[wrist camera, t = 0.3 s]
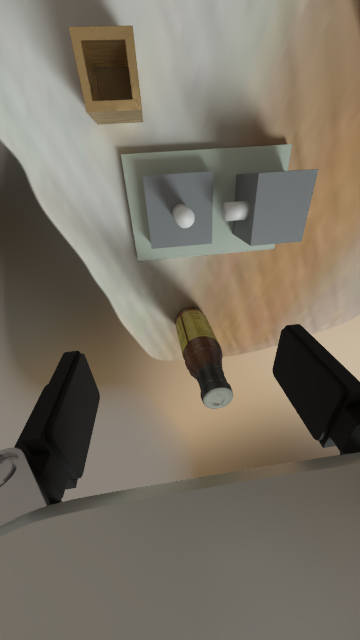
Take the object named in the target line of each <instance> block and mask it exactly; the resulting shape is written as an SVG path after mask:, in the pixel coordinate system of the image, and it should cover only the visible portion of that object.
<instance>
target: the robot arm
mask: <svg viewBox="0 0 360 640" xmlns="http://www.w3.org/2000/svg"><path fill="white" fill-rule="evenodd" d="M273 374H274V377H275V378H276V380H277V381H278V383H279V384H280V386H281V388H282V389H283V391H284V392H285V394H286V396H287V397H288V398H289V400H290V402H291V403H292V405H293V407H294V408H295V409H296V411H297V413H298V414H299V416H300V418H301V419H302V420H303V422H304V424H305V425H306V427H307V429H308V430H309V432H310V433H311V435H312V436H313V438H314V439H315V440H319V442H320V444H321V445H322V447H323V448H326V447H332V446H337V447H338V449H339V450H340V455H338V456H330V457H323V458H317V459H310V460H304V461H297V462H291V463H285V464H278V465H272V466H266V467H260V468H254V469H247V470H241V471H235V472H229V473H223V474H217V475H211V476H205V477H198V478H193V479H186V480H181V481H174V482H169V483H163V484H157V485H151V486H145V487H139V488H134V489H127V490H122V491H116V492H110V493H105V494H100V495H94V496H89V497H84V498H78V499H73V500H70V501H65V502H62V500H61V498H62V497H63V495H64V491H65V489H71V488H76V484H77V480H78V478H81V477H82V475H83V471H84V467H85V462H86V457H87V453H88V449H89V444H90V439H91V435H92V431H93V426H94V422H95V418H96V413H97V408H98V404H99V399H100V395H99V391H98V388H97V386H96V383H95V381H94V378H93V375H92V373H91V370H90V368H89V365H88V363H87V360H86V358H85V355H84V354H81V353H80V352H79V351H72V352H65V353H64V354H63V356H62V358H61V360H60V362H59V364H58V366H57V368H56V370H55V372H54V374H53V376H52V378H51V380H50V382H49V384H48V385H46V386H45V388H44V389H43V391H42V393H41V395H40V397H39V399H38V401H37V403H36V405H35V407H34V409H33V411H32V413H31V415H30V417H29V419H28V421H27V423H26V425H25V427H24V429H23V431H22V433H21V435H20V437H19V439H18V441H17V443H16V445H15V447H14V448H7V449H4V450H1V451H0V640H360V382H359V381H358V380H357V379H356V378H355V377H354V376H353V375H352V374H351V373H350V372H349V371H348V370H347V369H346V368H345V367H344V366H343V365H342V364H341V363H340V362H339V361H337V360H336V359H335V358H334V357H333V356H332V355H331V354H330V353H329V352H328V351H327V350H326V349H325V348H324V347H323V346H322V345H321V344H320V343H318V341H317V340H315V338H314V337H313V336H311V335H310V334H309V333H308V332H307V331H306V330H305V329H304V328H303V327H302V326H301V325H300V324H295V325H287V326H285V328H284V329H282V331H281V335H280V339H279V344H278V348H277V352H276V357H275V361H274V365H273Z"/></svg>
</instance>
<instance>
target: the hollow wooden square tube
mask: <svg viewBox="0 0 360 640" xmlns="http://www.w3.org/2000/svg"><path fill="white" fill-rule="evenodd" d="M69 31H70V36H71V41H72V45H73V50H74V55H75V60H76V64H77V69H78V74H79V79H80V83H81V88H82V93H83V98H84V102H85V107H86V112H87V113H88V114H89V115H90V116H91V118H92V119H93V120H94V121H95V122H96V123H97V124H114V123H134V122H143V117H142V107H141V98H140V89H139V80H138V71H137V62H136V53H135V44H134V35H133V26H89V27H69ZM110 67H129V74H130V82H131V90H132V98H133V100H110V101H100V97H99V92H98V86H97V81H96V75H95V70H94V68H110Z"/></svg>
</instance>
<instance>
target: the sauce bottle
mask: <svg viewBox="0 0 360 640" xmlns="http://www.w3.org/2000/svg"><path fill="white" fill-rule="evenodd" d="M176 329H177V333H178V337H179V341H180V345H181V350H182V354H183V358H184V360H185V364H186V366H187V369H188V370H189V372H190V374H191V375H192V376H193V377H194V378H195V379H197V381H198V383H199V385H200V389H201V398H202V401H203V403H204V405H205V406H206V407H208V408H212V409H216V408H221V407H224V406H226V405H228V404H229V403H230V401H231V400H232V398H233V392H232V389H231V386H230V385H229V384H228V383H227V381H226V379H225V376H224V372H223V370H222V350H221V347H220V345H219V343H218V341H217V339H216V337H215V335H214V333H213V330H212V328H211V326H210V324H209V322H208V320H207V318H206V316H205V315H204V314H203V312H202V311H200V310H198V309H195V308H187V309H185V310H183V311H181V312H180V313H179V314H178V316H177V319H176Z"/></svg>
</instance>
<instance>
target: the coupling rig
mask: <svg viewBox="0 0 360 640" xmlns="http://www.w3.org/2000/svg"><path fill="white" fill-rule="evenodd" d="M291 148H292V144H286V145H269V146H252V147H235V148H218V149H202V150H185V151H168V152H151V153H134V154H121V159H122V165H123V171H124V178H125V184H126V190H127V196H128V202H129V209H130V215H131V221H132V227H133V233H134V240H135V246H136V252H137V258H138V261H147V260H157V259H168V258H179V257H190V256H201V255H212V254H222V253H233V252H244V251H255V250H266V249H274V247H275V244H279V243H290V242H301V241H302V237H303V232H304V228H305V224H306V219H307V215H308V211H309V207H310V202H311V198H312V194H313V189H314V185H315V181H316V176H317V172H318V169H312V170H293V171H288V165H289V159H290V154H291Z"/></svg>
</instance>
